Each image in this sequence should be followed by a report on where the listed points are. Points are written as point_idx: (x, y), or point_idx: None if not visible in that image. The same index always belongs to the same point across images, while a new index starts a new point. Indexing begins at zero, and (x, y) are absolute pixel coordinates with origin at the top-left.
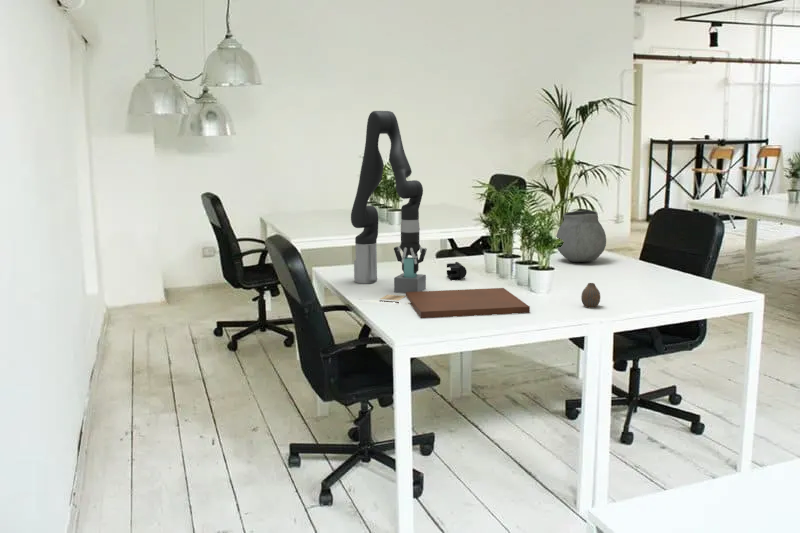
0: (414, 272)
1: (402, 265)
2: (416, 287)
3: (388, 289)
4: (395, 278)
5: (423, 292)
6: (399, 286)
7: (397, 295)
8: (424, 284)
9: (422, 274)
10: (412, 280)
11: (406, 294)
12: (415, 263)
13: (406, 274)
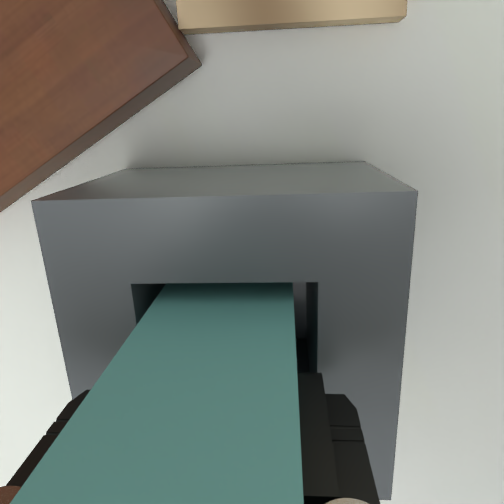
0: None
1: (358, 468)
2: (100, 181)
3: (488, 345)
4: (390, 187)
5: (3, 113)
6: (314, 174)
7: (278, 19)
8: None
9: None
10: (117, 194)
11: (159, 6)
12: (8, 499)
13: (250, 320)
